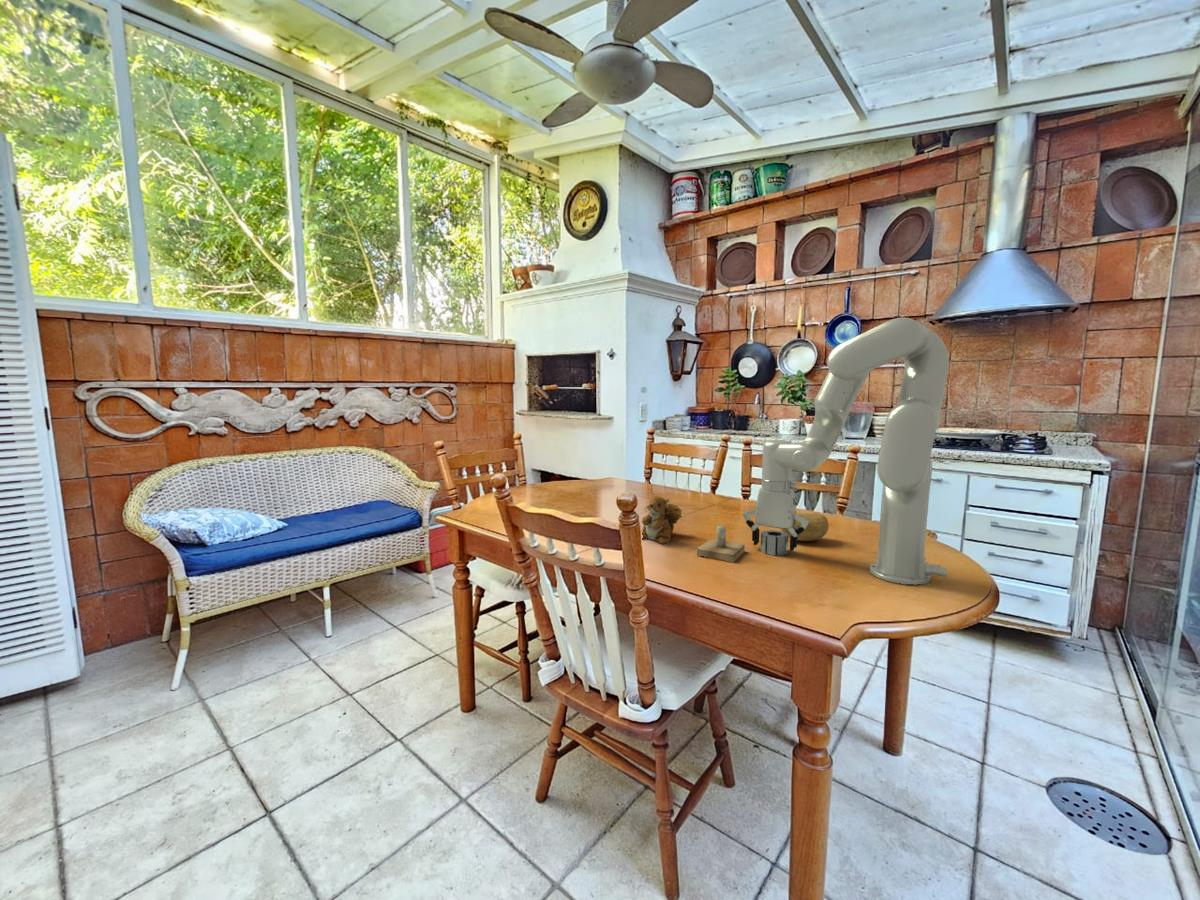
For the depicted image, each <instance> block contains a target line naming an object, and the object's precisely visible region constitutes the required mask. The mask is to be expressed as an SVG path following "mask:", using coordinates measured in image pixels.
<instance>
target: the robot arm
mask: <svg viewBox="0 0 1200 900" xmlns="http://www.w3.org/2000/svg"><path fill="white" fill-rule="evenodd" d="M899 359H901V360H902V361H903V364H904V370H903V374H902V378H901V384H900V385H901V387H900V392H899V395H898V399H897V403H896V404H895V405H894V406H893V407H892V408H891V410H890V411H889V413H888V415H887V417H886V419H885V424H884V428H883V434H882V439H881V444H880V449H879V455H878V459H877V466H876V471H877V472H876V473H877V477H878V478H879V480H880V482H881V483H882V484H883V485H882V490H881V491H882V492H881V503H880V515H879V531H878V532H879V533H878V549H877V561H876V562H873V563H872V564H870V565H869V572H870V573H871V574H872V575H873V576H875V577H876V578H878V579H880V578H881V579H880V580H883V579H884V580H883V581H886V582H890V583H894V582H895V583H894V584H899V583H901V585H907V584H914V585H913V586H916V585H917V584H921V585H925V584H928V583H929V582H930V581H931V578H932V577H931V575H935V576H940V577H944V578H947V575H948V569H947V568H945V567H941V564H933V563H929V562H926V558H927V557H925V553H926V552H925V551H926V539H927V538H926V536H927V527H928V525H927V524H928V515H929V514H928V513H929V502H930V501H929V500H930V492H931V482H932V477H933V476H932V475H933V474H932V473H933V462H932V459H931V455H932V450H933V447H934V446H933V445H934V441H935V436H936V432H937V430H938V428H939V427H940V425H941V412H942V406H943V402H944V397H945V390H946V384H947V378H948V372H949V365H950V363H949V362H950V361H949V359H950V358H949V353H948V350H947V346H946V345H945V343H944V341H943V340H942V339H941V337H940V336H939V335H938V334H937V333H936V332H934V331H933V330H931V329H930V328H929V327H927V326H925V325H923V324H922V323H920V322H918V321H917V320H914V319H913V318H910V317H896V318H893V319H889V320H888V321H885V322H883V323H880V324H879V325H877V326H875V327H872V328H871V329H868V330H867V331H865V332H862V333H860V334H858V335H856V336H854V337H852V338H849V339H847V340H845V341H843V342H842V343H839V344H838V345H836V346H835V347H834V348H832V350H831V351H830V352H829V354H828V357H827V360H826V362H827V363H826V365H827V369H828V372H827V374H826V376H825V378H824V381H822V384H821V386H820V388H819V391H818V393H817V394H816V397H815V398H814V403H813V404H814V405H813V406H814V418H813V422H812V425H810V426H811V427H810V429H809V431H808V433H807V435H806V436H805V439H804V441H801V442H796V443H794V442H793V443H792V442H790V441H788V440H783V439H769V440H766V441H764V443H763V445H762V463H761V464H762V468H761V469H762V470H761V488H759V489H758V493H757V498H756V505H755V508H754V509H751V510H748V511H746V512H744V513H743V514H742V516H743V518H744V520H745V524H746V525H747V526H748V527H749V528H750V530H751V541H752V542H753V546H757V545H758V544H759V543H760V528H759V527H760V526H761V527H766V528H767V527H768V528H775V529H780V528H782V529H788V530H789V532H790V533H791V534H792V535H791V537H790V538H789V550H790V551H791V552H793V551H794V550H795V549H796V548H797V547H798V541H797V536H798V535H799V534H800V533H802V532H803V531H804V530H805V528H806V527H807V525H808V524H809V521H808V520H806V519H805V518H803V517H802V516H800V515H798V512H797V505H796V497H795V491H794V490H793V489H797V487H798V484H797V482H796V483H795V482H793V479H792V471H796V472H800V473H801V472H803V473H804V472H805V473H807V472H810V471H813V470H815V469H817V468H818V467H820V466H822V465H823V464H825V463H826V461H827V460H828V459H829V457H830V455H831V453H832V451H833V449H834V447H835V445H836V444H837V441H838V439H839V437H840V436H841V433H842V430H843V428H844V425H845V423H846V421H847V420H848V416H849V413H850V411H851V410H852V407H853V405H854V403H855V401H856V399H857V398H858V395H859V393H860V391H861V389H862V388H863V385H864V384H865V382H866V381H867V378H868V376H869V374H870V372H871V371H873V370H874V369H877V368H880V367H882V366H885V365H886V364H889V363H892V362H894V361H896V360H899ZM753 515H754V521H753V520H752V518H751V516H753ZM796 520H797V521H799V522H801V524H802V525H801V527H800V528H798V529H797V528H796V527H795V526H794V525H795V523H796ZM917 586H918V585H917Z"/></svg>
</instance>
